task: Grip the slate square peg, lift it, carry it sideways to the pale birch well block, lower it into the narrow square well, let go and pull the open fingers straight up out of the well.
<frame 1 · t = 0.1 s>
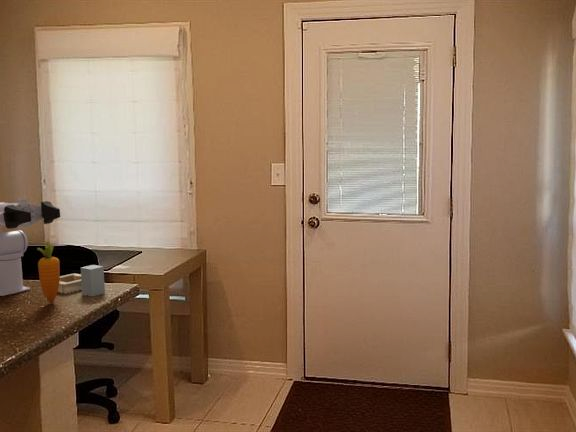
hand: (44, 214, 154), 22 cm above the countertop, tool horizontal, fingers open, 7 cm apart
slate square peg: (93, 293, 166), on the countertop
birch well block: (70, 287, 172), on the countertop
carrot: (51, 304, 157), on the countertop
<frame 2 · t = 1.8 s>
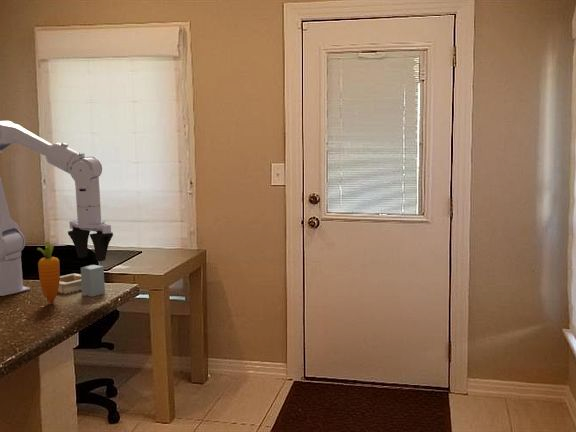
hand: (91, 258, 164), 9 cm above the countertop, tool pointing down, fingers open, 7 cm apart
nothing on the countertop moved.
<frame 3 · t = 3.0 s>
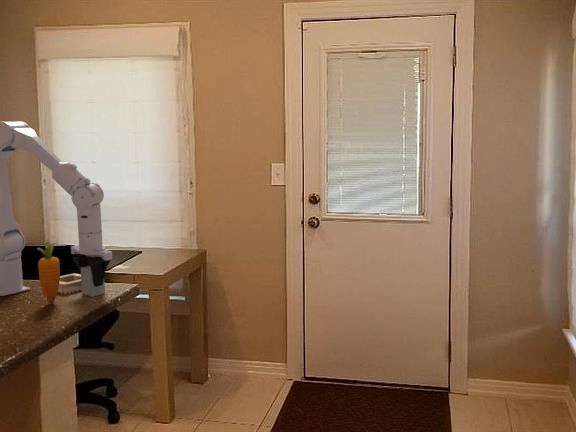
hand: (93, 284, 165), 2 cm above the countertop, tool pointing down, fingers closed on slate square peg, 4 cm apart
slate square peg: (93, 293, 166), on the countertop, touching gripper
everything else where it was.
when the fingers open (4 cm above the countertop, at t = 9.7 s): slate square peg drops 2 cm, resting in birch well block.
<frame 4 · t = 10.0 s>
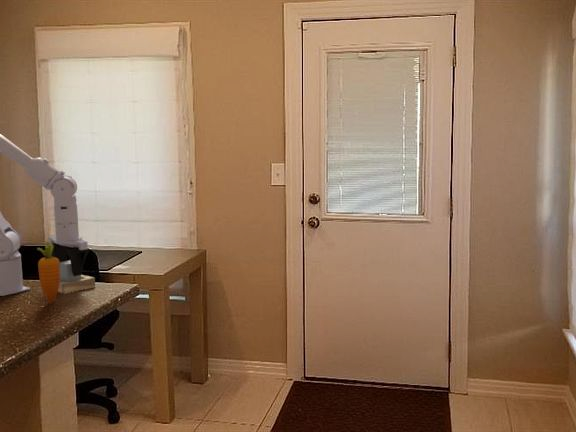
hand: (69, 273, 171), 4 cm above the countertop, tool pointing down, fingers open, 6 cm apart
slate square peg: (70, 288, 172), resting in birch well block
everything else where it was.
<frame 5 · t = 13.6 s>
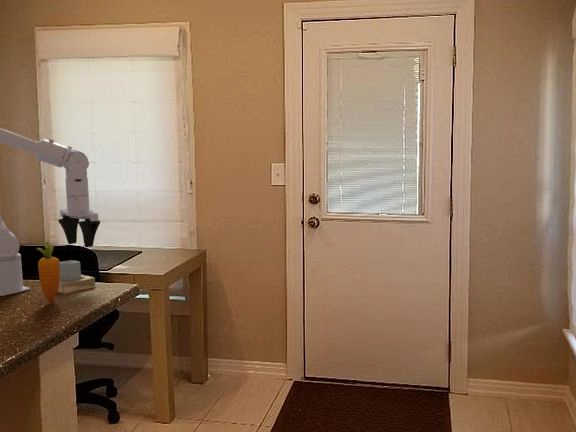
hand: (80, 245, 176), 10 cm above the countertop, tool pointing down, fingers open, 7 cm apart
nothing on the countertop moved.
at the end: slate square peg 0.0 cm from the birch well block (horizontally); slate square peg tilted 0°; the gripper is holding nothing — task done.
